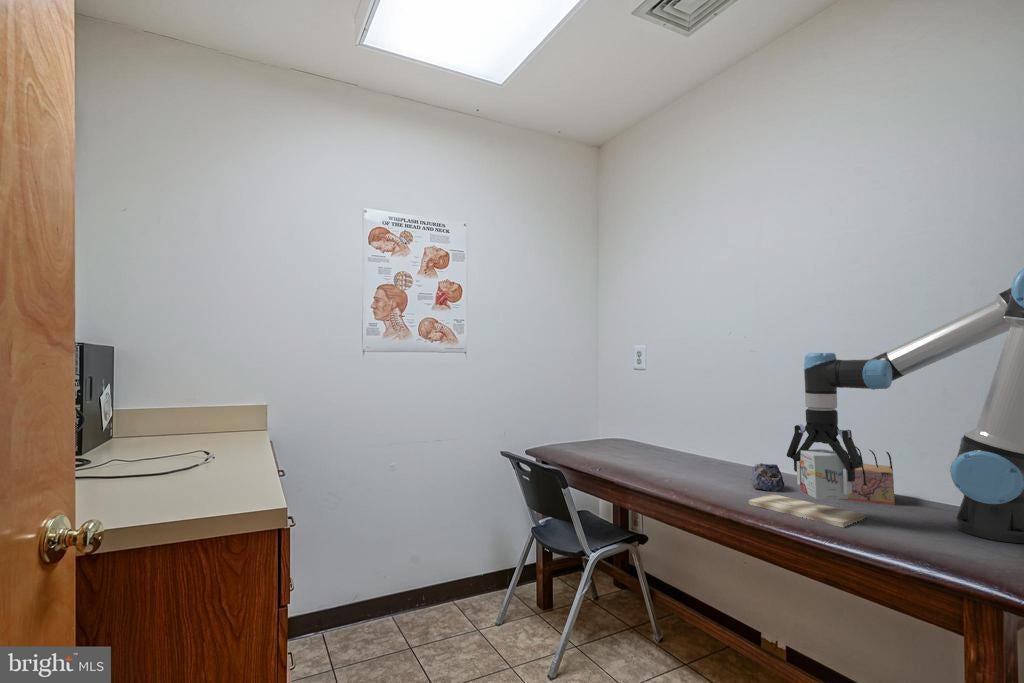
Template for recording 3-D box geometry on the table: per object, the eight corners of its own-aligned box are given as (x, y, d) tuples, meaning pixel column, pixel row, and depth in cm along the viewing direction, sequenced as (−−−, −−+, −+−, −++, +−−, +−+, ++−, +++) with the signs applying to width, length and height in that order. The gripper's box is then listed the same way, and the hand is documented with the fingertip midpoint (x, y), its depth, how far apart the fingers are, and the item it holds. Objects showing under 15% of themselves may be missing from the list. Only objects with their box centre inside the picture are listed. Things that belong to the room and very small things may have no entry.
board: (865, 518, 135) (865, 514, 135) (843, 527, 128) (842, 522, 128) (771, 497, 157) (771, 493, 157) (748, 504, 150) (748, 500, 151)
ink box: (800, 490, 143) (798, 448, 143) (831, 491, 142) (830, 448, 142) (815, 499, 134) (813, 454, 134) (849, 499, 133) (847, 454, 134)
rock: (792, 484, 162) (773, 456, 165) (762, 499, 163) (744, 470, 167) (786, 484, 172) (768, 457, 175) (757, 497, 173) (740, 470, 177)
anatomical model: (893, 496, 155) (891, 447, 156) (896, 505, 146) (893, 453, 147) (833, 490, 164) (831, 444, 165) (832, 498, 155) (830, 449, 155)
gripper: (876, 411, 131) (879, 496, 130) (786, 404, 151) (788, 478, 150) (863, 413, 127) (866, 501, 126) (771, 406, 147) (773, 481, 146)
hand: (823, 488), depth 138 cm, fingers closed on ink box, 11 cm apart
